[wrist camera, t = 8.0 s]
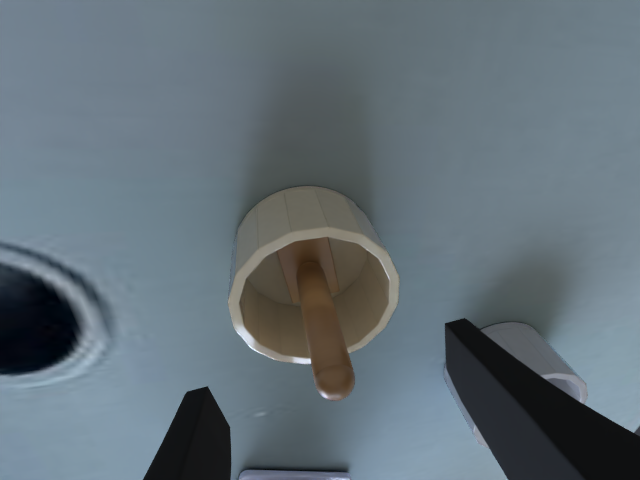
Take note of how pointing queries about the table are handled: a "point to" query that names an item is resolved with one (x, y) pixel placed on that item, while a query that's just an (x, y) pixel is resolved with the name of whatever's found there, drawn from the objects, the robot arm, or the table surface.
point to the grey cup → (527, 363)
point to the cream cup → (270, 286)
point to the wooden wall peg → (319, 313)
